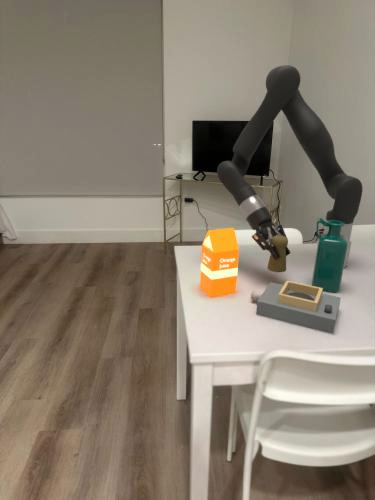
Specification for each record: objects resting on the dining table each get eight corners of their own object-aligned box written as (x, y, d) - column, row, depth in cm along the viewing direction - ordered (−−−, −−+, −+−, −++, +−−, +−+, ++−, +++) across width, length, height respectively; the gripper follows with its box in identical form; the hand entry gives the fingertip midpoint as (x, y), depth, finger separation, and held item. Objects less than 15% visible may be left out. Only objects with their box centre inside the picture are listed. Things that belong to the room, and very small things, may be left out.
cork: (286, 273, 114) (290, 240, 110) (267, 271, 115) (270, 238, 111) (285, 265, 119) (289, 234, 115) (267, 264, 120) (270, 232, 116)
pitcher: (338, 283, 120) (350, 219, 113) (339, 293, 113) (352, 226, 105) (307, 278, 123) (317, 216, 115) (306, 288, 115) (316, 222, 108)
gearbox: (338, 309, 103) (342, 289, 101) (332, 333, 91) (336, 311, 89) (258, 291, 113) (260, 272, 111) (243, 310, 101) (245, 290, 99)
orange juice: (199, 287, 115) (202, 227, 108) (224, 283, 118) (227, 224, 111) (210, 298, 108) (214, 234, 101) (236, 293, 111) (241, 231, 104)
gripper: (248, 209, 111) (278, 256, 107) (275, 202, 120) (303, 246, 116) (234, 222, 116) (262, 267, 112) (261, 215, 125) (287, 256, 121)
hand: (283, 256), depth 114 cm, fingers closed on cork, 4 cm apart
